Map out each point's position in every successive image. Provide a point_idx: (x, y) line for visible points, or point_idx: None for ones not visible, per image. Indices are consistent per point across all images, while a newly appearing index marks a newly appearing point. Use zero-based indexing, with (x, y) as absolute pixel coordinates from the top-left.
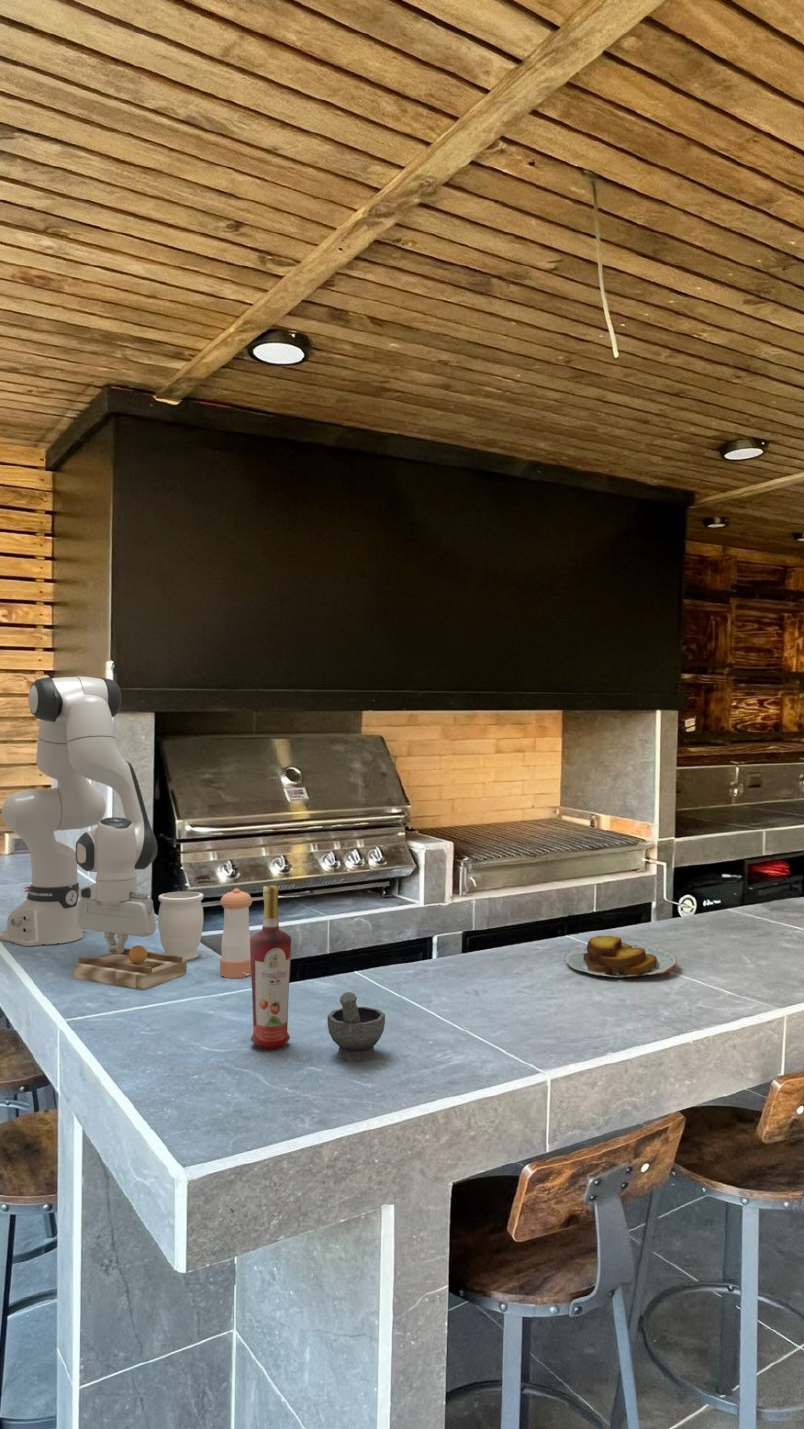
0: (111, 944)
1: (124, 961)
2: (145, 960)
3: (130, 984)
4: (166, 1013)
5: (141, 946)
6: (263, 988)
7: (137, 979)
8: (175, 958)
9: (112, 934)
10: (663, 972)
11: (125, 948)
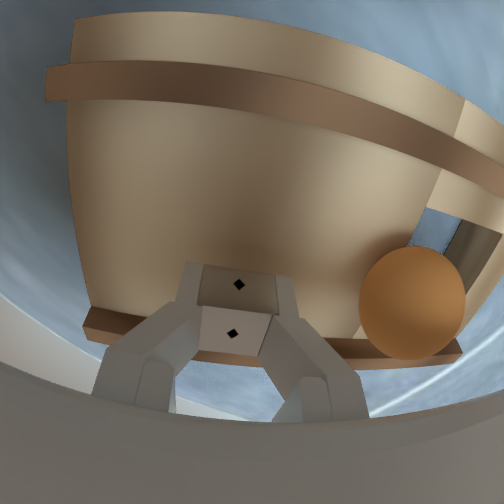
0: (198, 346)
1: (299, 250)
2: (416, 201)
3: None
4: (458, 383)
5: (451, 337)
6: None
7: None
8: None
9: (172, 403)
10: None
11: (167, 64)
